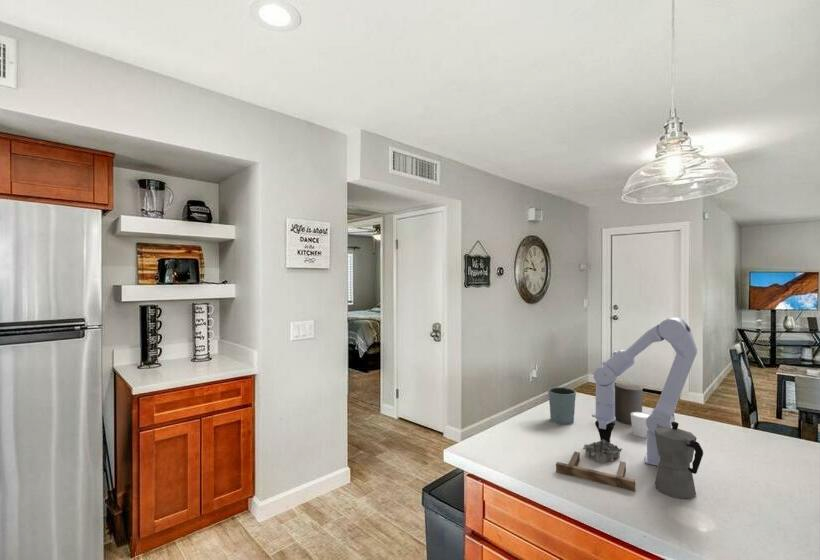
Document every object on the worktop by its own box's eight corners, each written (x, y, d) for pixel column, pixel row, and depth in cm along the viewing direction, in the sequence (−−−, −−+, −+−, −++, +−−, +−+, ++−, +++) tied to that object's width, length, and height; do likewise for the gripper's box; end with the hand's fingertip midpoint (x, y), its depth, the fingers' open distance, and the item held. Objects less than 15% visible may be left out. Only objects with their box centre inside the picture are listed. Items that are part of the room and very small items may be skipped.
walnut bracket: (637, 473, 117) (637, 464, 117) (635, 491, 107) (635, 482, 107) (564, 457, 127) (564, 449, 127) (556, 472, 117) (555, 463, 117)
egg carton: (601, 465, 122) (601, 452, 122) (580, 456, 129) (580, 443, 129) (624, 458, 127) (624, 445, 127) (603, 449, 134) (603, 436, 133)
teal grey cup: (578, 419, 161) (578, 389, 161) (573, 427, 152) (573, 395, 152) (551, 415, 166) (551, 385, 166) (545, 422, 158) (545, 391, 157)
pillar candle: (611, 421, 158) (612, 383, 158) (616, 414, 166) (617, 378, 166) (640, 427, 153) (640, 387, 152) (644, 419, 160) (644, 382, 160)
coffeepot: (641, 478, 114) (641, 414, 113) (672, 476, 115) (672, 413, 114) (683, 510, 98) (683, 435, 98) (719, 507, 99) (719, 434, 99)
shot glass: (656, 438, 142) (656, 418, 142) (636, 437, 142) (636, 417, 142) (645, 430, 149) (645, 411, 149) (626, 430, 149) (626, 411, 149)
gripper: (595, 395, 142) (595, 434, 142) (588, 406, 130) (588, 449, 130) (617, 398, 138) (617, 438, 138) (613, 410, 126) (613, 454, 126)
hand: (605, 444), depth 134 cm, fingers closed
